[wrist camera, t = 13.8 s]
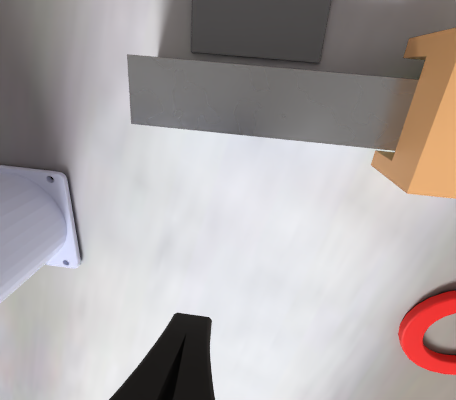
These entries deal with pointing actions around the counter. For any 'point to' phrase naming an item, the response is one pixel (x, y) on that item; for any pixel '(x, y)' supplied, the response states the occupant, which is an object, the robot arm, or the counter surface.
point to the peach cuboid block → (427, 123)
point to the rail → (269, 101)
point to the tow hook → (417, 326)
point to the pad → (260, 28)
